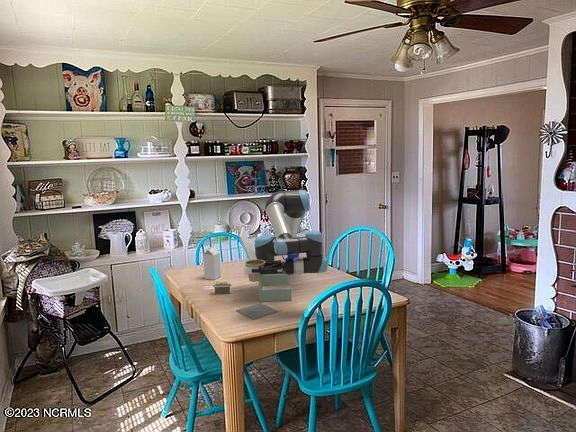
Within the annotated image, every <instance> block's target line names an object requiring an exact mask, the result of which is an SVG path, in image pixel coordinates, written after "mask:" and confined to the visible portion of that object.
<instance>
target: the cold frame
mask: <svg viewBox="0 0 576 432" xmlns="http://www.w3.org/2000/svg"><path fill="white" fill-rule="evenodd" d="M289 275H290V274H286V273H278V274H269V275H263V278H262V280H261V281H259V282H258V300H259V303H261V302H282V301H292V299H293V298H292V297H293V296H292V295H293V292H292V287H282V288H279V287H278V288H263V286H264V287H267V286H287V285H290V278H289V277H290V276H289Z"/></svg>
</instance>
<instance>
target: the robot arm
mask: <svg viewBox="0 0 576 432" xmlns="http://www.w3.org/2000/svg"><path fill="white" fill-rule="evenodd" d="M310 201H311V200H310V197H309V194H308V192H307V190H305V189H302V190H301V189H296V190H295V189H293V190H279V191H276V192H273V193H272V194H271V195H270V196H269V197H268V198H267V200H266V202H265V205H264V211H265V214H266V215H267V217H269V220H270V223H271V227H272V229H273V233H274V234H271V233H270V234H263V235H259V236H257V237H256V238H254V253H255V255H256V258H257V260H263V261H265V263H264V267H260V266H259V267H248V268H247V267H246V264H245V263H244V265H245V267H244V268H243V269H244V271H243V272H244V274H247V275H248V274H253V273H259V274H261V275H269V274H283V271H284V272H285V274H289V275H294V274H295V275H300V276H301V275H302V274H322V273H326V272H327V271H328V258H327V257H326V256H323V235H322V232H320V231H319V230H318V231H316V230H312V231H311V230H310V231H306V232H305V235H304V236H298V230H299V226H300V222H301V219H302V217H303V216H304V215H305V213H307V212H310V210H311V204H310ZM274 235H275V236H274ZM298 253H299V254H305V257H303V256H299V258H294V259H293V258H288V257H286V258H284V259H285V260H284V262H282V260H280V259H279V260H275V257H278V256H279V257H282V255H283V256H287V255H293V254H298Z"/></svg>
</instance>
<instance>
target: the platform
mask: <svg viewBox="0 0 576 432" xmlns="http://www.w3.org/2000/svg"><path fill="white" fill-rule="evenodd" d="M231 287H232V284H231V283H228V281H225V280H224V281H216V282H215V283H214V284H213V285H212V288H214V295H222V294H223V295H224V294H225V295H226V294H227V295H228V294H231Z"/></svg>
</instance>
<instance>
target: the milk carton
mask: <svg viewBox="0 0 576 432" xmlns="http://www.w3.org/2000/svg"><path fill="white" fill-rule="evenodd" d="M202 256H203V258H202V259H203V272H204V273H203V275H204V279H205V280H213V281H214V280H218V279H219V278H221V276H222V274H221V273H222V272H221V259H220V258H221V257H220V256H221V255H220V251H219V250H218V249H217V248H216V247H215V245H211V246H210V247H207V249H206V250H205V251H204V253H203V254H202Z"/></svg>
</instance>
